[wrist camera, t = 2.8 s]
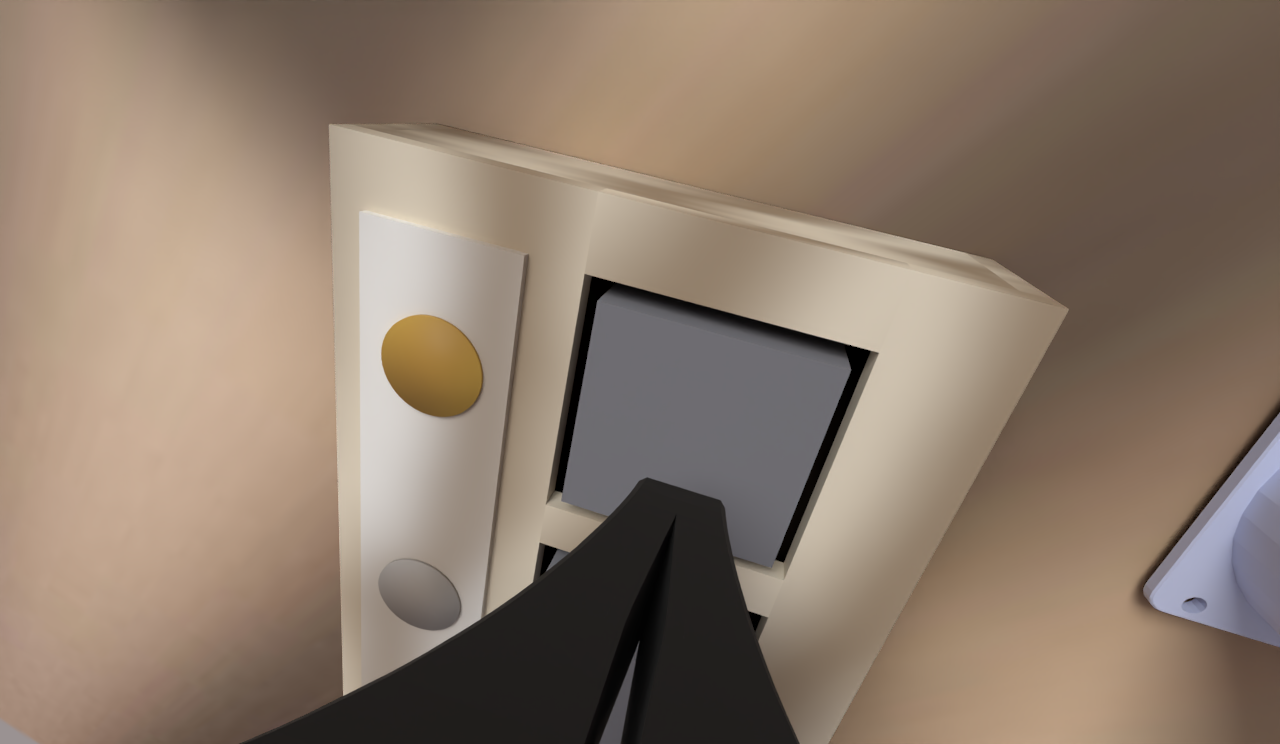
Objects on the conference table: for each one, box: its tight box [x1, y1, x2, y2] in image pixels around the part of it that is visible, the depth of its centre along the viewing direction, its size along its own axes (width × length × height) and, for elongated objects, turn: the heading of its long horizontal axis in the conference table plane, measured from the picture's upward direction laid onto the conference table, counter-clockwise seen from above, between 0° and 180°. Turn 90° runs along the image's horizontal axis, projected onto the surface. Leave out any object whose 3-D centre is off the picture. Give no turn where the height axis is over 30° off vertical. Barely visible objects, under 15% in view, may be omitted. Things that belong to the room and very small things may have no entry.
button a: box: [561, 282, 851, 568], centre depth 14 cm, size 5×5×4 cm
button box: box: [329, 124, 1069, 744], centre depth 17 cm, size 14×23×4 cm, turn 168°
